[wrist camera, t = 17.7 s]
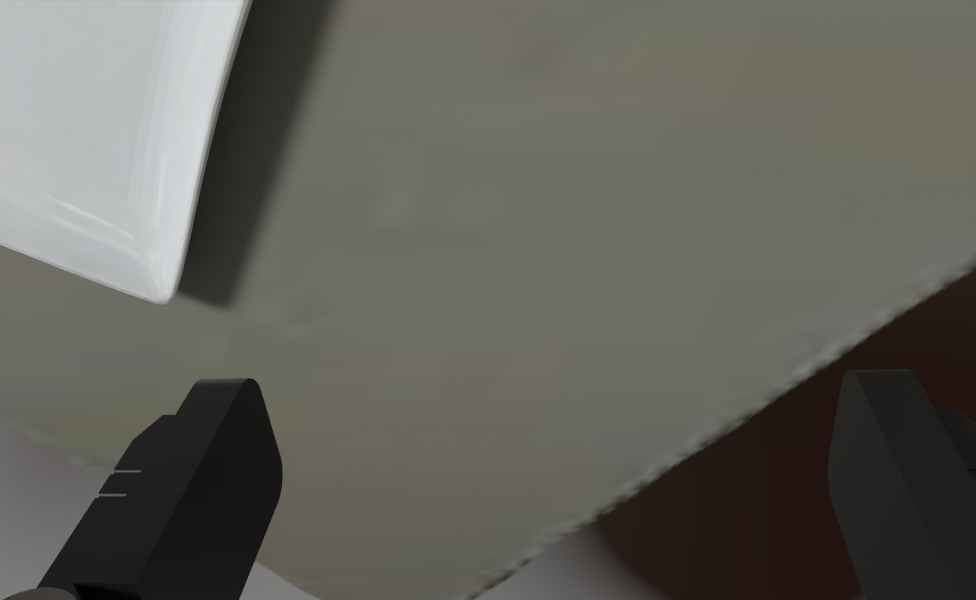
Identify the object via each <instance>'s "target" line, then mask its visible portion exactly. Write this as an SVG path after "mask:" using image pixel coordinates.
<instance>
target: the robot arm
mask: <svg viewBox="0 0 976 600" xmlns="http://www.w3.org/2000/svg"><path fill="white" fill-rule="evenodd" d="M828 465H829V466H828V475H829V487H830V493H831V498H832V502H833V506H834V509H835V512H836V515H837V518H838V520H839V523H840V526H841V529H842V532H843V535H844V538H845V541H846V544H847V546H848V549H849V552H850V555H851V558H852V561H853V564H854V567H855V570H856V573H857V576H858V578H859V581H860V584H861V587H862V590H863V593H864V596H865V599H866V600H976V423H974V422H973V421H972V420H971V419H969V418H968V417H967V416H966V415H964V414H963V413H962V412H961V411H959V410H958V409H934V408H933V406H932V405H931V403H930V401H929V399H928V397H927V395H926V394H925V392H924V390H923V388H922V386H921V385H920V383H919V381H918V379H917V378H916V376H915V374H914V373H913V372H912V371H910V370H853V371H852V370H851V371H850V370H849V371H847V372H846V373H845V375H844V378H843V381H842V385H841V391H840V397H839V403H838V408H837V414H836V420H835V425H834V432H833V437H832V443H831V448H830V455H829V464H828ZM114 469H115V472H114V474H110V476H109V477H108V479H107V481H106V482H105V484H104V485H103V487H102V488H101V490H100V491H99V498H95V499H94V500H93V502H92V504H91V505H90V507H89V508H88V510H87V511H86V513H85V514H84V516H83V517H82V519H81V520H80V522H79V523H78V525H77V527H76V528H75V530H74V531H73V533H72V534H71V536H70V537H69V539H68V540H67V542H66V543H65V545H64V546H63V548H62V550H61V551H60V553H59V554H58V556H57V557H56V559H55V560H54V562H53V563H52V565H51V566H50V568H49V570H48V571H47V573H46V574H45V576H44V577H43V579H42V580H41V582H40V583H39V585H38V586H37V588H36V589H29V590H26V591H22V592H19V593H16V594H14V595H12V596H9V597H7V598H5V599H3V600H239V598H240V596H241V593H242V591H243V588H244V586H245V583H246V581H247V578H248V576H249V573H250V571H251V568H252V566H253V564H254V561H255V559H256V556H257V554H258V551H259V549H260V546H261V544H262V541H263V539H264V536H265V534H266V531H267V529H268V526H269V524H270V521H271V519H272V516H273V514H274V511H275V509H276V506H277V504H278V501H279V498H280V494H281V488H282V462H281V457H280V453H279V450H278V446H277V443H276V440H275V436H274V433H273V429H272V426H271V423H270V419H269V416H268V413H267V409H266V406H265V402H264V399H263V396H262V392H261V389H260V387H259V385H258V383H257V382H256V381H255V380H254V379H251V378H238V379H201V380H199V381H197V382H196V383H195V384H194V385H193V387H192V388H191V390H190V392H189V393H188V395H187V397H186V398H185V400H184V401H183V403H182V405H181V406H180V408H179V410H178V411H177V413H176V415H162V416H161V417H160V418H159V419H158V420H156V421H155V422H154V423H153V424H152V425H150V426H149V427H148V428H147V429H146V430H144V431H143V432H142V433H141V434H140V435H138V436H137V437H136V438H135V439H134V440H133V441H132V442H131V444H130V445H129V447H128V448H127V450H126V451H125V453H124V454H123V456H122V458H121V459H120V461H119V462H118V464H117V465H116V467H115V468H114Z"/></svg>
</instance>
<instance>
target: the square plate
mask: <svg viewBox="0 0 976 600" xmlns="http://www.w3.org/2000/svg"><path fill="white" fill-rule="evenodd" d="M252 2H253V0H0V245H2V246H5V247H7V248H10V249H12V250H15V251H18V252H20V253H23V254H26V255H28V256H30V257H33V258H35V259H38V260H40V261H43V262H45V263H48V264H50V265H53V266H55V267H58V268H61V269H63V270H66V271H68V272H71V273H74V274H76V275H79V276H82V277H84V278H87V279H89V280H92V281H94V282H97V283H100V284H102V285H105V286H108V287H110V288H113V289H116V290H119V291H121V292H124V293H127V294H129V295H132V296H135V297H138V298H141V299H144V300H147V301H150V302H153V303H156V304H158V305H168V304H170V303H171V302H172V301H173V299H174V297H175V295H176V292H177V289H178V286H179V282H180V279H181V275H182V272H183V269H184V264H185V259H186V255H187V251H188V246H189V241H190V237H191V232H192V227H193V222H194V217H195V213H196V208H197V204H198V199H199V194H200V190H201V185H202V181H203V176H204V172H205V168H206V164H207V160H208V155H209V151H210V147H211V143H212V139H213V135H214V131H215V127H216V123H217V120H218V116H219V112H220V108H221V104H222V100H223V97H224V93H225V90H226V86H227V83H228V79H229V76H230V73H231V69H232V66H233V63H234V59H235V56H236V53H237V50H238V46H239V43H240V40H241V36H242V33H243V30H244V27H245V24H246V21H247V17H248V14H249V11H250V8H251V5H252Z"/></svg>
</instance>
